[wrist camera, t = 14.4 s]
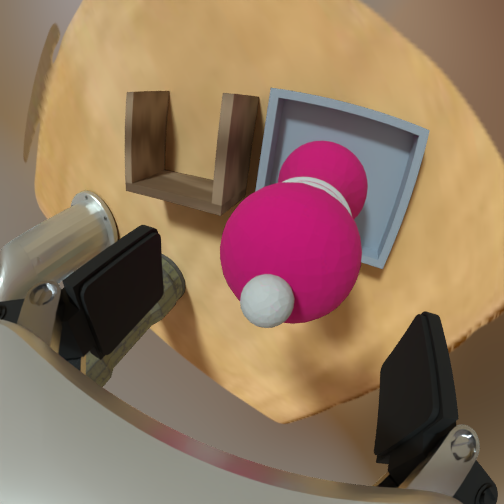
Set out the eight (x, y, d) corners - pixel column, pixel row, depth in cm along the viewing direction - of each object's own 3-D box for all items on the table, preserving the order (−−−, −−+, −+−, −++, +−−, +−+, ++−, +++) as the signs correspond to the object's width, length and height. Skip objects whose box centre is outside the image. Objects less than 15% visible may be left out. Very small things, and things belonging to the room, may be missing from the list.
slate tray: (380, 254, 27) (382, 269, 25) (259, 217, 30) (249, 228, 28) (421, 128, 20) (429, 130, 17) (279, 90, 23) (270, 87, 20)
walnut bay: (245, 196, 30) (220, 215, 25) (158, 176, 33) (126, 190, 28) (259, 96, 24) (234, 94, 19) (162, 91, 27) (126, 92, 22)
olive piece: (146, 232, 38) (-44, 396, 10) (202, 290, 39) (42, 489, 11) (128, 263, 43) (-23, 403, 15) (176, 313, 44) (44, 473, 16)
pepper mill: (286, 201, 27) (172, 349, 11) (295, 130, 24) (149, 183, 7) (357, 217, 25) (336, 404, 9) (372, 146, 22) (420, 243, 5)
